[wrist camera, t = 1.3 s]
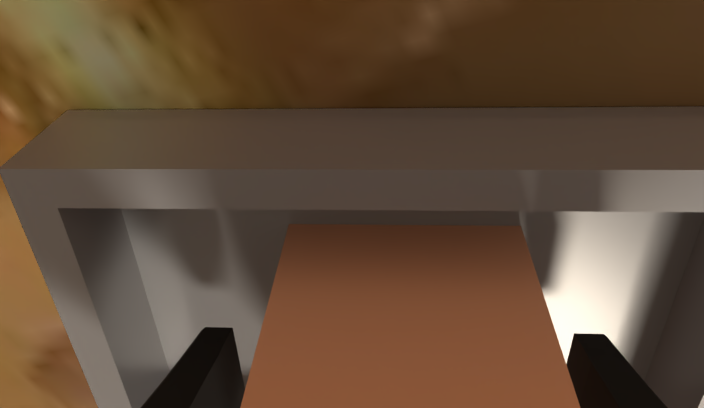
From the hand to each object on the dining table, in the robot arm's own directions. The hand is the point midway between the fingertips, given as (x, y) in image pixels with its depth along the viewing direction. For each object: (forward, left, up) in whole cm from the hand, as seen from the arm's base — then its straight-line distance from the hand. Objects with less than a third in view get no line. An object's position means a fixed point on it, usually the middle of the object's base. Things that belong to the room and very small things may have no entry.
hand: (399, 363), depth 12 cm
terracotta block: (0, 0, -2) cm, 2 cm away
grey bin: (0, 0, -2) cm, 2 cm away
